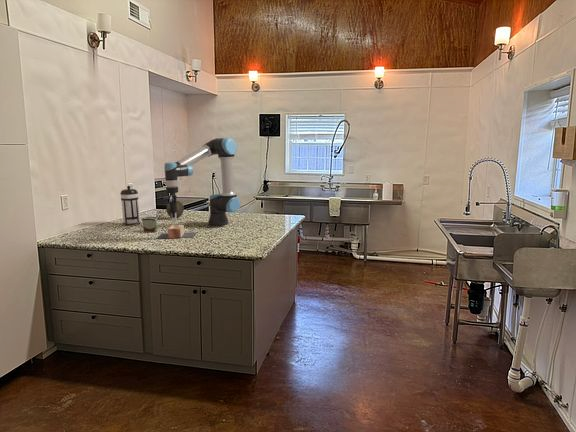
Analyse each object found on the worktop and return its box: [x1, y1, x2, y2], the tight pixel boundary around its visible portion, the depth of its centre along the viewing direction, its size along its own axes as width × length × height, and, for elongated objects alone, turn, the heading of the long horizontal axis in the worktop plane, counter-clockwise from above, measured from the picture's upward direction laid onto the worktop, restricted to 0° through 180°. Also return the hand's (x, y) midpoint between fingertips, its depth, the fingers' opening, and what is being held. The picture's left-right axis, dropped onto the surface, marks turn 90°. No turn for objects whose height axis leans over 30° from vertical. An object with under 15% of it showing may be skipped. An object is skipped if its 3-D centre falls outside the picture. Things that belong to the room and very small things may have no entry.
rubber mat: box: [156, 231, 198, 240], centre depth 273 cm, size 24×14×1 cm, turn 94°
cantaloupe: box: [165, 200, 185, 219], centre depth 334 cm, size 14×14×15 cm
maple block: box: [167, 224, 185, 239], centre depth 270 cm, size 8×6×12 cm
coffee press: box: [119, 185, 141, 227], centre depth 311 cm, size 17×16×30 cm
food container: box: [140, 216, 158, 234], centre depth 288 cm, size 12×6×10 cm, turn 71°
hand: (174, 222), depth 265 cm, fingers closed
